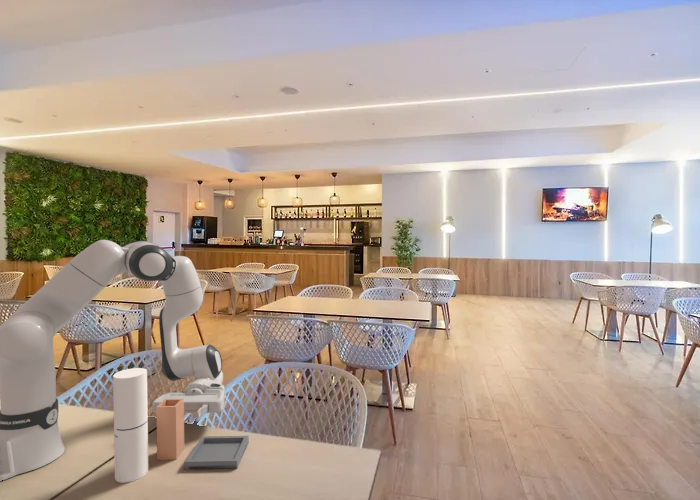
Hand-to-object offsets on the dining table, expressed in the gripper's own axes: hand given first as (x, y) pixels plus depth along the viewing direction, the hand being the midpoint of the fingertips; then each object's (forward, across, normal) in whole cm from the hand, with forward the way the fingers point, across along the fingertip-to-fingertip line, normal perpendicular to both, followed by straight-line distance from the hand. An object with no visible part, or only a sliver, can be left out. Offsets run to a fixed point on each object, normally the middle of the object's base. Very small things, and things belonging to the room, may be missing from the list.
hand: (179, 415), depth 105 cm
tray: (+7, +13, +8) cm, 17 cm away
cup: (+6, 0, +8) cm, 10 cm away
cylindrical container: (+14, -6, +8) cm, 17 cm away
